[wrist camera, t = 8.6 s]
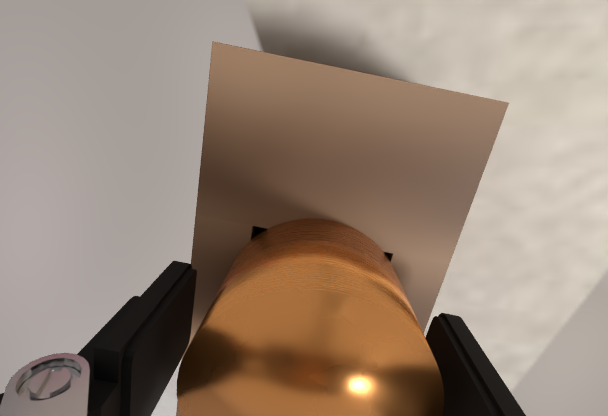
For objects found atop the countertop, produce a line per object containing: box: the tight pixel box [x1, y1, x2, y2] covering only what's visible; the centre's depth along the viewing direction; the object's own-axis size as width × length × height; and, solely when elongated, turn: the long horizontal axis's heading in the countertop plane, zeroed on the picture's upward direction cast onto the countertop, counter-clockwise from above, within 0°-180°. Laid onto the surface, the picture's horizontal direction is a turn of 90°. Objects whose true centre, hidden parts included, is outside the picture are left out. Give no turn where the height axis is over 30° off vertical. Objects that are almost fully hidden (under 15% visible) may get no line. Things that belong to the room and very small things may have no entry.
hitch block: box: [176, 42, 509, 416], centre depth 15 cm, size 16×9×6 cm, turn 169°
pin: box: [177, 218, 444, 416], centre depth 13 cm, size 6×6×10 cm
